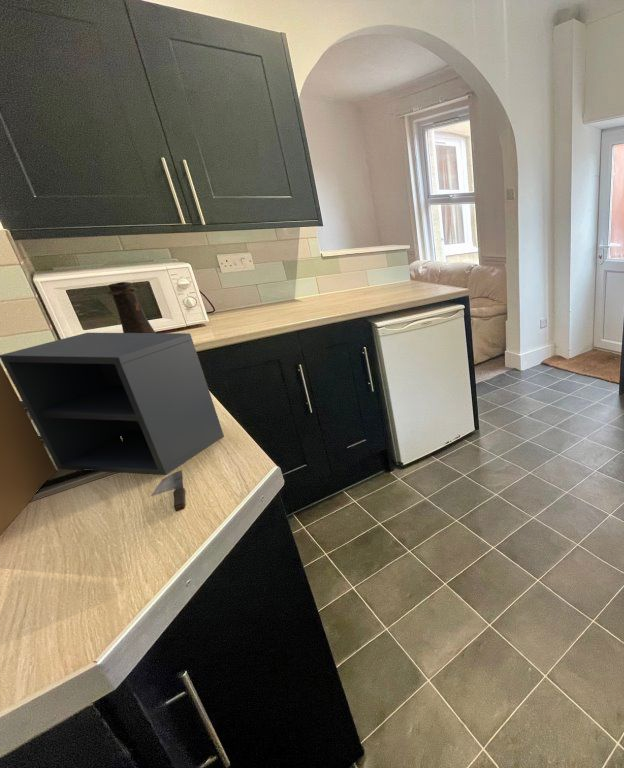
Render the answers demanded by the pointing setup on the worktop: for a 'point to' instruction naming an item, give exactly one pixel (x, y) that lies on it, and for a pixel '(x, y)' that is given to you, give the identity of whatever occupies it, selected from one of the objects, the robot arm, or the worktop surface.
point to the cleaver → (170, 484)
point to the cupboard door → (18, 455)
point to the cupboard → (117, 400)
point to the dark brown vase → (129, 309)
